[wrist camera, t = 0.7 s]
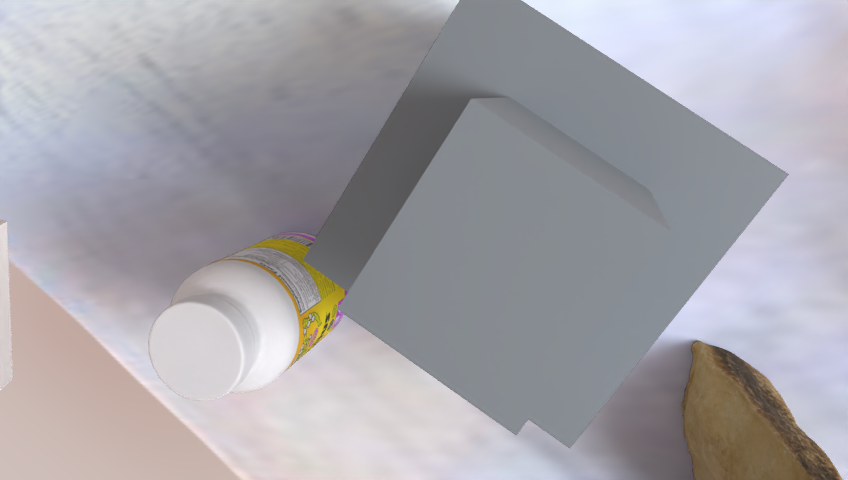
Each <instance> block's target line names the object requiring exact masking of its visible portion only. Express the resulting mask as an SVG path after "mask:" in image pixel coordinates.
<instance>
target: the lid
mask: <svg viewBox="0 0 848 480" xmlns="http://www.w3.org/2000/svg"><path fill="white" fill-rule="evenodd" d="M788 175H789V174H788V173H786V172H784V171H783V170H781V169H780V168H778V167H777V166H775V165H774V164H772V163H771V162H769V161H768V160H766V159H764V158H763V157H761V156H760V155H758V154H757V153H755V152H754V151H752V150H751V149H749V148H748V147H746V146H744V145H743V144H741V143H740V142H738V141H737V140H735V139H734V138H732V137H731V136H729V135H728V134H726V133H724V132H723V131H721V130H720V129H718V128H717V127H715V126H714V125H712V124H711V123H709V122H708V121H706V120H704V119H703V118H701V117H700V116H698V115H697V114H695V113H694V112H692V111H691V110H689V109H688V108H686V107H684V106H683V105H681V104H680V103H678V102H677V101H675V100H674V99H672V98H671V97H669V96H667V95H666V94H664V93H663V92H661V91H660V90H658V89H657V88H655V87H654V86H652V85H651V84H649V83H647V82H646V81H644V80H643V79H641V78H640V77H638V76H637V75H635V74H634V73H632V72H631V71H629V70H627V69H626V68H624V67H623V66H621V65H620V64H618V63H617V62H615V61H614V60H612V59H611V58H609V57H607V56H606V55H604V54H603V53H601V52H600V51H598V50H597V49H595V48H594V47H592V46H591V45H589V44H587V43H586V42H584V41H583V40H581V39H580V38H578V37H577V36H575V35H574V34H572V33H571V32H569V31H567V30H566V29H564V28H563V27H561V26H560V25H558V24H557V23H555V22H554V21H552V20H551V19H549V18H547V17H546V16H544V15H543V14H541V13H540V12H538V11H537V10H535V9H534V8H532V7H531V6H529V5H527V4H526V3H524V2H523V1H521V0H460V1H459V3H458V4H457V6H456V8H455V9H454V11H453V12H452V14H451V16H450V17H449V19H448V21H447V22H446V24H445V26H444V27H443V29H442V31H441V32H440V34H439V36H438V37H437V39H436V41H435V42H434V44H433V46H432V47H431V49H430V50H429V52H428V54H427V55H426V57H425V59H424V60H423V62H422V64H421V65H420V67H419V69H418V70H417V72H416V74H415V75H414V77H413V79H412V80H411V82H410V84H409V85H408V87H407V88H406V90H405V92H404V93H403V95H402V97H401V98H400V100H399V102H398V103H397V105H396V107H395V108H394V110H393V112H392V113H391V115H390V117H389V118H388V120H387V122H386V123H385V125H384V126H383V128H382V130H381V131H380V133H379V135H378V136H377V138H376V140H375V141H374V143H373V145H372V146H371V148H370V150H369V151H368V153H367V155H366V156H365V158H364V160H363V161H362V163H361V164H360V166H359V168H358V169H357V171H356V173H355V174H354V176H353V178H352V179H351V181H350V183H349V184H348V186H347V188H346V189H345V191H344V193H343V194H342V196H341V198H340V199H339V201H338V202H337V204H336V206H335V207H334V209H333V211H332V212H331V214H330V216H329V217H328V219H327V221H326V222H325V224H324V226H323V227H322V229H321V231H320V232H319V234H318V236H317V237H316V239H315V240H314V242H313V244H312V245H311V247H310V249H309V250H308V252H307V254H306V255H305V257H304V259H303V261H305V262H306V263H307V264H309V265H310V266H312V267H313V268H314V269H316V270H317V271H319V272H320V273H322V274H323V275H324V276H326V277H327V278H329V279H330V280H332V281H333V282H334V283H336V284H337V285H339V286H340V287H341V288H343V289H344V290H346V291H347V292H348V293H347V295H346V296H345V298H344V300H343V301H342V303H341V304H340V306H339V307H338V310H340V311H341V312H342V313H344V314H345V315H347V316H348V317H349V318H351V319H352V320H354V321H355V322H356V323H358V324H359V325H361V326H362V327H364V328H365V329H366V330H368V331H369V332H371V333H372V334H373V335H375V336H376V337H378V338H379V339H381V340H382V341H383V342H385V343H386V344H388V345H389V346H390V347H392V348H393V349H395V350H396V351H397V352H399V353H400V354H402V355H403V356H405V357H406V358H407V359H409V360H410V361H412V362H413V363H414V364H416V365H417V366H419V367H420V368H421V369H423V370H424V371H426V372H427V373H429V374H430V375H431V376H433V377H434V378H436V379H437V380H438V381H440V382H441V383H443V384H444V385H446V386H447V387H448V388H450V389H451V390H453V391H454V392H455V393H457V394H458V395H460V396H461V397H462V398H464V399H465V400H467V401H468V402H470V403H471V404H472V405H474V406H475V407H477V408H478V409H479V410H481V411H482V412H484V413H485V414H486V415H488V416H489V417H491V418H492V419H494V420H495V421H496V422H498V423H499V424H501V425H502V426H503V427H505V428H506V429H508V430H509V431H511V432H512V433H513V434H515V435H517V434H518V432H519V431H520V430H521V428H522V427H523V426H524V425H525V423H526V422H527V421H528V419H529V420H530V421H532V422H533V423H535V424H536V425H537V426H539V427H540V428H542V429H543V430H544V431H546V432H547V433H549V434H550V435H552V436H553V437H554V438H556V439H557V440H559V441H560V442H562V443H563V444H564V445H566V446H567V447H569V448H571V446H572V445H573V444H574V443H575V441H576V440H577V439H578V438H579V436H580V435H581V434H582V433H583V431H584V430H585V429H586V427H587V426H588V425H589V424H590V422H591V421H592V420H593V419H594V417H595V416H596V415H597V414H598V412H599V411H600V410H601V409H602V407H603V406H604V405H605V404H606V402H607V401H608V400H609V399H610V397H611V396H612V395H613V394H614V392H615V391H616V390H617V389H618V387H619V386H620V385H621V384H622V382H623V381H624V380H625V379H626V377H627V376H628V375H629V374H630V372H631V371H632V370H633V369H634V367H635V366H636V365H637V364H638V362H639V361H640V360H641V359H642V357H643V356H644V355H645V354H646V352H647V351H648V350H649V349H650V347H651V346H652V345H653V344H654V342H655V341H656V340H657V339H658V337H659V336H660V335H661V334H662V332H663V331H664V330H665V329H666V327H667V326H668V325H669V324H670V322H671V321H672V320H673V319H674V317H675V316H676V315H677V314H678V312H679V311H680V310H681V309H682V307H683V306H684V305H685V304H686V302H687V301H688V300H689V299H690V297H691V296H692V295H693V294H694V292H695V291H696V290H697V289H698V287H699V286H700V285H701V284H702V282H703V281H704V280H705V279H706V277H707V276H708V275H709V273H710V272H711V271H712V270H713V268H714V267H715V266H716V265H717V263H718V262H719V261H720V260H721V258H722V257H723V256H724V255H725V253H726V252H727V251H728V250H729V248H730V247H731V246H732V245H733V243H734V242H735V241H736V240H737V238H738V237H739V236H740V235H741V233H742V232H743V231H744V230H745V228H746V227H747V226H748V225H749V223H750V222H751V221H752V220H753V218H754V217H755V216H756V215H757V213H758V212H759V211H760V210H761V208H762V207H763V206H764V205H765V203H766V202H767V201H768V200H769V198H770V197H771V196H772V195H773V193H774V192H775V191H776V190H777V188H778V187H779V186H780V185H781V183H782V182H783V181H784V180H785V178H786V177H787V176H788Z"/></svg>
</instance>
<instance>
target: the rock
mask: <svg viewBox="0 0 848 480" xmlns="http://www.w3.org/2000/svg"><path fill="white" fill-rule="evenodd" d="M691 350H692V354H693V363H692V366H691V371H690V375H689V382H688V384H687V387H686V389H685V399H684V402H682V404H681V405H682V410H683V417H684V435H685V438H686V439H687V447H688V451H689V453H690V454H691V455H692V462H693V474H694V477H695V480H843V479H842V478H841V476H840V475H839V473H838V471H837V469H836V468H835V466H834V465H833V464H832V462H831V460H830V459H829V458H828V456H827V455H826V454H825V453H824V451H823V450H822V449H821V448H820V447H819V446H818V445H817V444H816V443H815V442H814V441H813V440H812V439H810V438H809V437H808V436H807V435H806V434H805V433H804V432H803V431H802V430H801V429H800V428H799V427H798V426H797V424H796V423H795V420H794V417H793V416H792V414H791V412H790V410H789V409H788V407H787V406H786V404H785V402H784V400H783V399H782V397H781V395H780V394H779V393H778V391H777V390H776V389H775V388H774V386H773V385H772V384H771V382H770V381H769V380H768V379H767V378H766V377H765V376H764V375H763V374H761V373H760V372H759V371H757V370H756V369H755V368H753V367H752V366H750V365H749V364H748V363H746V362H745V361H743V360H742V359H740V358H739V357H737V356H736V355H735V354H733V353H731V352H729V351H726V350H724V349H722V348H719V347H715V346H710V345H707V344H704V343H702V342H701V341H697V342H696V343H694V344H693V345H692V348H691Z"/></svg>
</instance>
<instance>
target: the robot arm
mask: <svg viewBox="0 0 848 480" xmlns="http://www.w3.org/2000/svg"><path fill="white" fill-rule="evenodd" d="M9 288H10V287H9V258H8V228H7V221H4V220H0V390H1V389H2V388H3V387H4V386H5V385H6V384H8V383H9V382H10V381H11V380H12V379H13V376H12V346H11V318H10V317H11V316H10V289H9Z"/></svg>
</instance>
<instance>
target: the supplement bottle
mask: <svg viewBox="0 0 848 480" xmlns="http://www.w3.org/2000/svg"><path fill="white" fill-rule="evenodd" d="M315 239H316V237H315V236H312V235H309V234H305V233H298V232H290V233H283V234H279V235H277V236H274V237H271V238H269V239H266V240H264V241H262V242H260V243H257V244H255V245H253V246H251V247H248V248H246V249H244V250H241V251H239V252H237V253H235V254H232V255H230V256H228V257H225V258H223V259H221V260H218V261H216V262H214V263H211V264H209V265H207V266H205V267H203V268H201V269H199V270H197V271H196V272H194V273H193V274H191V275H190V276H189V277H188V278H187V279H186V280H185V281H184V282H183V283H182V284H181V285H180V287H179V288H178V290H177V291H176V293H175V295H174V297H173V300H172V302H171V305H170V306H169V307H168V308H167V309H165V310H164V311H163V312H162V313H161V314H160V315H159V316H158V317H157V319H156V320H155V322H154V324H153V326H152V328H151V331H150V335H149V355H150V359H151V362H152V365H153V367H154V369H155V371H156V373H157V375H158V376H159V377H160V379H161V380H162V381H163V382H164V383H165V384H166V385H167V386H168V387H169V388H170V389H171V390H173V391H174V392H175V393H177V394H179V395H180V396H182V397H185V398H188V399H191V400H196V401H210V400H215V399H217V398H220V397H222V396H224V395H226V394H227V393H246V392H251V391H255V390H258V389H261V388H263V387H265V386H267V385H269V384H270V383H272V382H273V381H274V380H276V379H277V378H278V377H279V376H281V375H282V374H283V373H284V372H285V371H286V370H287V369H288V368H289V367H291V366H292V365H293V364H294V363H295V362H296V361H297V360H299V359H300V358H301V357H302V356H303V355H304V354H305V353H307V352H308V351H309V350H310V349H311V348H312V347H313V346H315V345H316V344H317V343H318V342H319V341H320V340H321V339H323V338H324V337H325V336H326V335H327V334H328V333H329V332H330V331H331V330H332V329H333V328H334V327H335V326H336V325H337V324H338V323H339V322H340V320H341V319H342V317H343V316H344V313H342V312H341V311H340V310H338V307H339V306H340V304H341V303H342V301H343V300H344V298H345V296H346V295H347V293H348V292H347V291H346V290H344V289H343V288H341V287H340V286H339V285H337V284H336V283H334V282H333V281H332V280H330V279H329V278H327V277H326V276H324V275H323V274H322V273H320V272H319V271H317V270H316V269H314V268H313V267H312V266H310V265H309V264H307V263H306V262H305V261H303V259H304V257H305V255H306V254H307V252H308V250H309V249H310V247H311V245H312V244H313V242H314V240H315Z"/></svg>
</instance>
